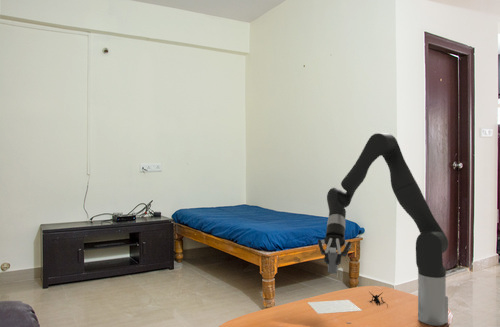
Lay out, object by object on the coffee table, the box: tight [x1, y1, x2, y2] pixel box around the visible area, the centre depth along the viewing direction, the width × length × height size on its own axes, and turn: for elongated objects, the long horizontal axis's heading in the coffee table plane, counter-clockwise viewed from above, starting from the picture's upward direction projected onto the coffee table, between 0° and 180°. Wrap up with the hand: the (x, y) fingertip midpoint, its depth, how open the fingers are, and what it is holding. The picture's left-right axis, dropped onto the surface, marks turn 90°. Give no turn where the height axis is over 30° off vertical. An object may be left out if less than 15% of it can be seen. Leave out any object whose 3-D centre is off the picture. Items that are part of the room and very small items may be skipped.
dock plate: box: [307, 299, 363, 315], centre depth 152 cm, size 18×12×1 cm, turn 101°
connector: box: [327, 247, 339, 274], centre depth 151 cm, size 5×4×9 cm
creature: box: [368, 291, 389, 307], centre depth 156 cm, size 8×5×8 cm
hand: (332, 263), depth 149 cm, fingers closed on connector, 3 cm apart
